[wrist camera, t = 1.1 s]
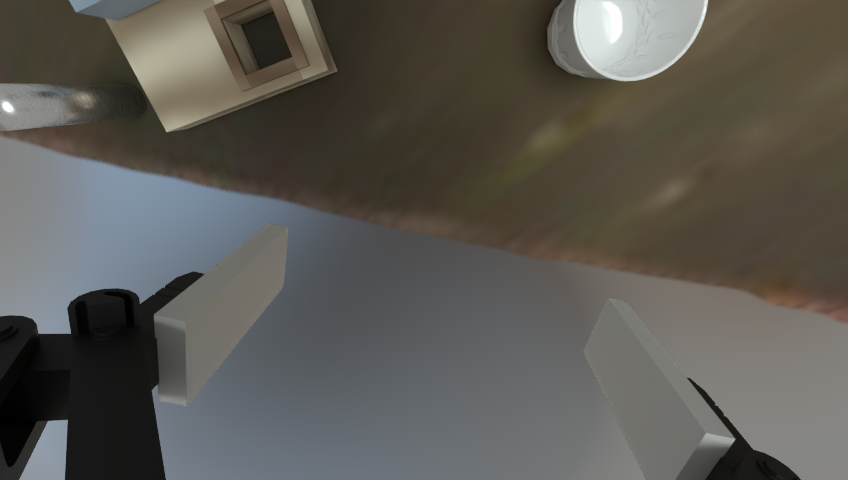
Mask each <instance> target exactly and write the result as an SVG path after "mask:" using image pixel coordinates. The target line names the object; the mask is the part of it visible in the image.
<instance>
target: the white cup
mask: <svg viewBox="0 0 848 480" xmlns="http://www.w3.org/2000/svg"><path fill="white" fill-rule="evenodd" d="M707 5H708V0H562V2H561V3H560V4H559V5H558V6H557V7H556V8H555V9H554V12H553V15H552V17H551V20H550V22H549V25H548V28H547V42H548V50H549V52H550V54H551V56H552V58H553V60H554V62H555V63H556V65H558V66H559V67H561V68H562V69H564V70H565V71H567V72H568V73H570V74H576V75H580V76H583V77H589V78H594V79H607V80H618V81H636V80H641V79H645V78H648V77H651V76H654V75H656V74H658V73H660V72H662V71H663V70H665V69H667V68H668V67H670V66H671V65H672V64H674V63H675V62H676V61H677V60H678V59H679V58H680V57H681V56H682V55H683V54H684V53H685V52H686V51H687V50H688V48H689V47H690V46H691V44H692V43H693V41H694V40H695V38H696V36H697V34H698V33H699V31H700V28H701V26H702V24H703V21H704V18H705V15H706V10H707Z"/></svg>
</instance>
